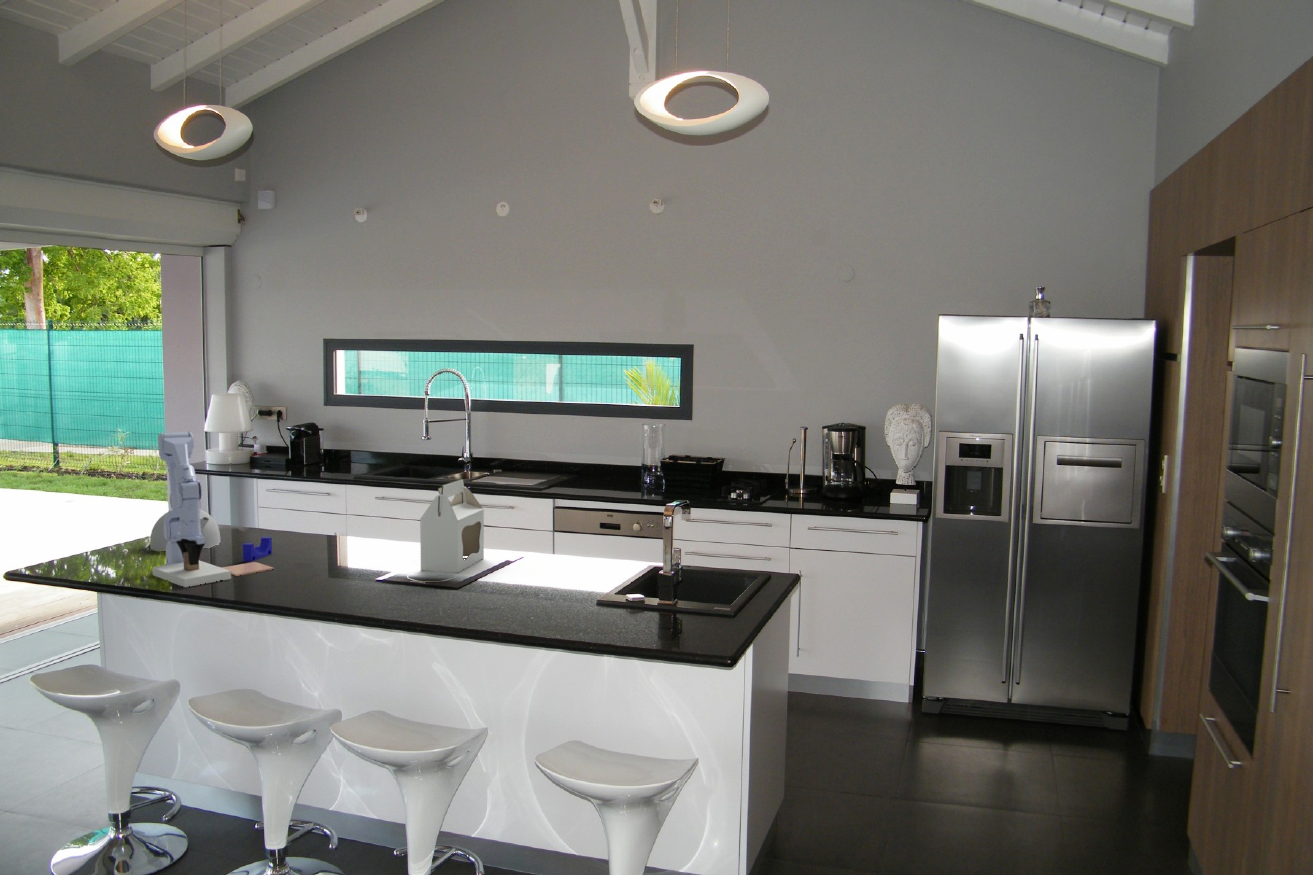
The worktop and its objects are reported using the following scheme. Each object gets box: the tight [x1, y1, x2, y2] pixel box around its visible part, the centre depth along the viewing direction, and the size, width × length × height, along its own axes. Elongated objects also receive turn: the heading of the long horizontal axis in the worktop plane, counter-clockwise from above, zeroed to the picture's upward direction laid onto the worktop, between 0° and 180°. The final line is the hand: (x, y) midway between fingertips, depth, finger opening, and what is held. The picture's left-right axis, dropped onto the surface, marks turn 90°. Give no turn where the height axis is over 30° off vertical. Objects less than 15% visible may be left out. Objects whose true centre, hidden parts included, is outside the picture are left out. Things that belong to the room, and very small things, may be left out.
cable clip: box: [242, 536, 273, 562], centre depth 317 cm, size 12×4×6 cm, turn 170°
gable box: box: [419, 478, 485, 573], centre depth 311 cm, size 22×13×28 cm, turn 169°
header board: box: [152, 559, 232, 588], centre depth 290 cm, size 22×14×2 cm, turn 51°
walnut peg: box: [183, 552, 199, 571], centre depth 289 cm, size 3×3×7 cm
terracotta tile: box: [221, 561, 275, 577], centre depth 300 cm, size 12×12×1 cm
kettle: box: [149, 492, 221, 552], centre depth 333 cm, size 25×23×22 cm
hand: (191, 563), depth 289 cm, fingers closed on walnut peg, 3 cm apart
